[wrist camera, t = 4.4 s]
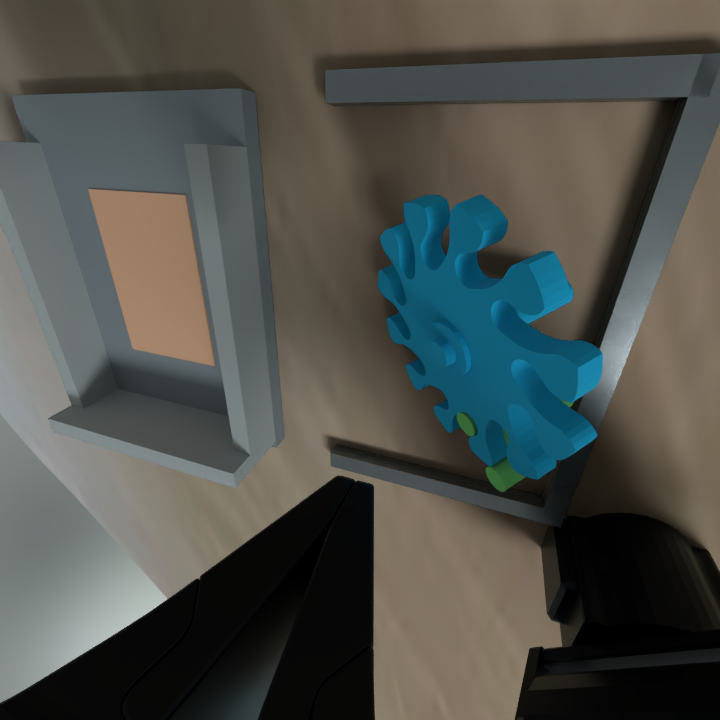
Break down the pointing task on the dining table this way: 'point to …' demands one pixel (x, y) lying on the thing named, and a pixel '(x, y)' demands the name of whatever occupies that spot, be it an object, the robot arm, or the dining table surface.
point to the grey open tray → (150, 271)
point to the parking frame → (644, 253)
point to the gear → (487, 338)
